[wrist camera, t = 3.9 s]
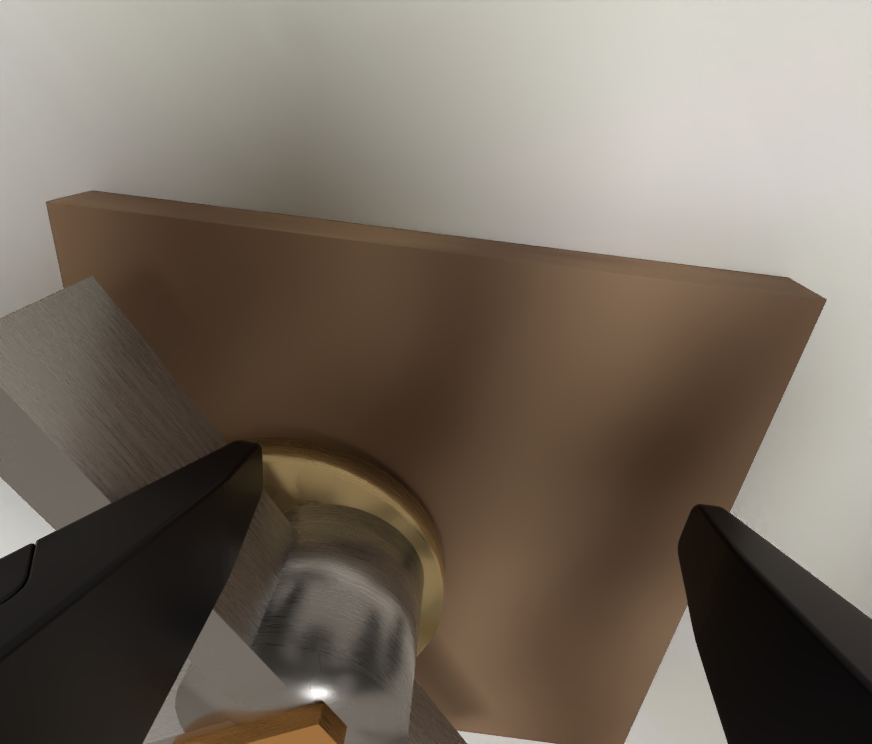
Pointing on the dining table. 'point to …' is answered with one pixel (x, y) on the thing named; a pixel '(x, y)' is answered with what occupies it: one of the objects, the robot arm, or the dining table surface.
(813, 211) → the dining table surface
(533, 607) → the stand
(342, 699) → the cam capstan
